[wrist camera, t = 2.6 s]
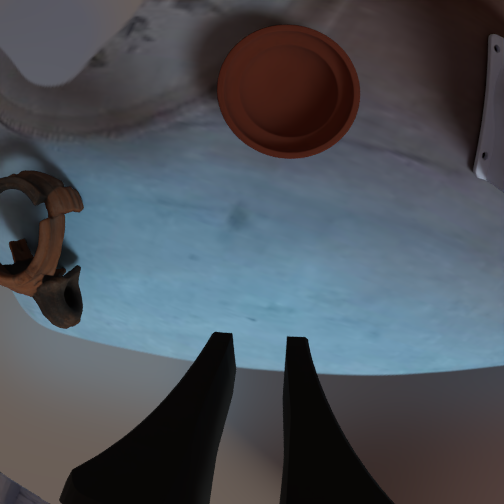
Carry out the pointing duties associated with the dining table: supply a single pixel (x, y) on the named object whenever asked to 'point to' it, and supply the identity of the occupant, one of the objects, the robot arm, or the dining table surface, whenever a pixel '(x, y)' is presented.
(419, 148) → the dining table surface
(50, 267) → the broken clay jug rim
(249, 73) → the pottery
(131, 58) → the dining table surface
